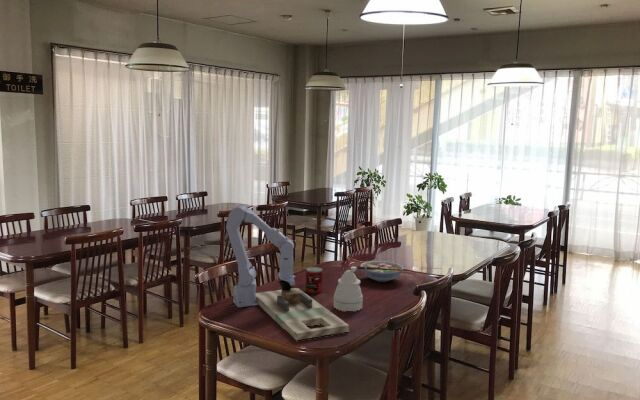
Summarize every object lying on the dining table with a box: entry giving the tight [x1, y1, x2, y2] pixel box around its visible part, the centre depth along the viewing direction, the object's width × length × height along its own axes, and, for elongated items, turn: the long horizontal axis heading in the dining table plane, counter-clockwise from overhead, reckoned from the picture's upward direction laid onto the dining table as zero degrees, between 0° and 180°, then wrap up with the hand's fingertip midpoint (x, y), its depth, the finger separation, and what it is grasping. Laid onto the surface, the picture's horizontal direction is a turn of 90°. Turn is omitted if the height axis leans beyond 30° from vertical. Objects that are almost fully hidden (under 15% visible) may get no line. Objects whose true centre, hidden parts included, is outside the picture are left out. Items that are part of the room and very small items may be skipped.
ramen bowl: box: [357, 260, 408, 283], centre depth 271 cm, size 25×23×8 cm
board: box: [256, 287, 350, 342], centre depth 218 cm, size 22×50×6 cm, turn 26°
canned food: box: [305, 266, 323, 294], centre depth 249 cm, size 8×8×11 cm
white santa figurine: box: [333, 266, 364, 312], centre depth 229 cm, size 13×13×18 cm
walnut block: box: [281, 288, 300, 305], centre depth 225 cm, size 6×6×4 cm
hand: (286, 296), depth 229 cm, fingers closed
